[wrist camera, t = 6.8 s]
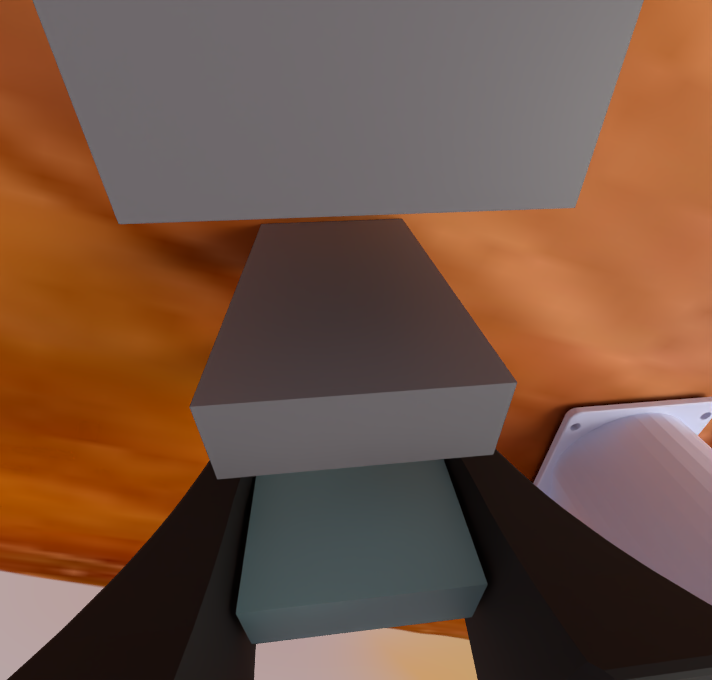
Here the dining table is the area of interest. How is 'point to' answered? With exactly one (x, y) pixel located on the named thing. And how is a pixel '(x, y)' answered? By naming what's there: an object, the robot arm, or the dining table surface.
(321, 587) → the teal domino
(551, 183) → the domino
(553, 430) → the dining table surface
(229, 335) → the domino
